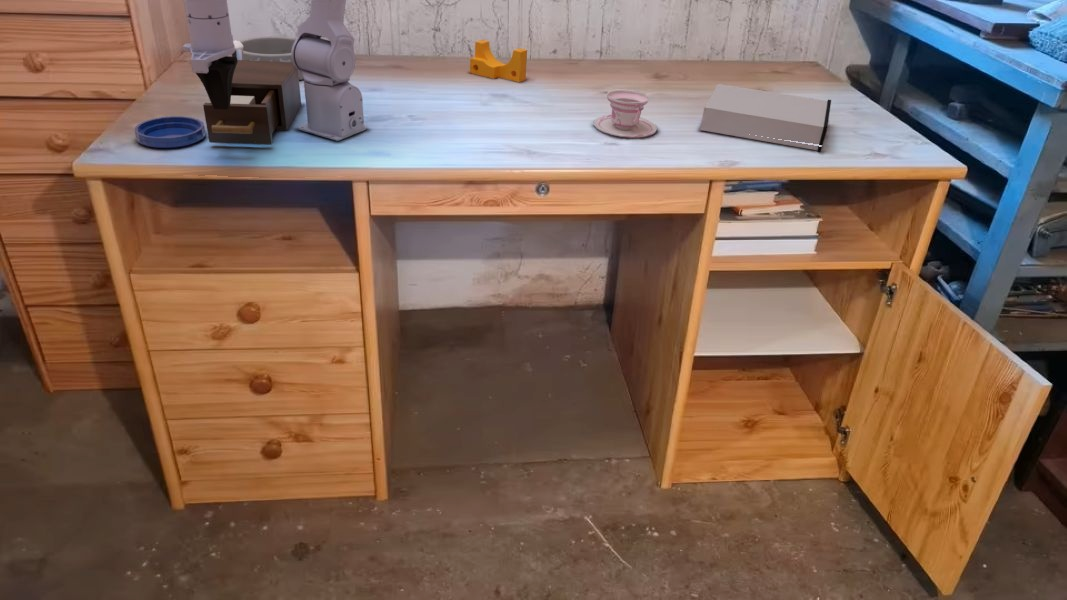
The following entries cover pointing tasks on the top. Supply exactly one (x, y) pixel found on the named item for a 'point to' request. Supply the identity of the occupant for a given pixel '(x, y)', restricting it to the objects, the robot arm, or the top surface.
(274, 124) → the drawer
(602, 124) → the teacup
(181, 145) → the blue saucer
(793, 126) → the disc drive
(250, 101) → the block
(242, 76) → the cabinet
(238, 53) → the milkshake
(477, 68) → the pipe clamp
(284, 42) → the dog bowl
